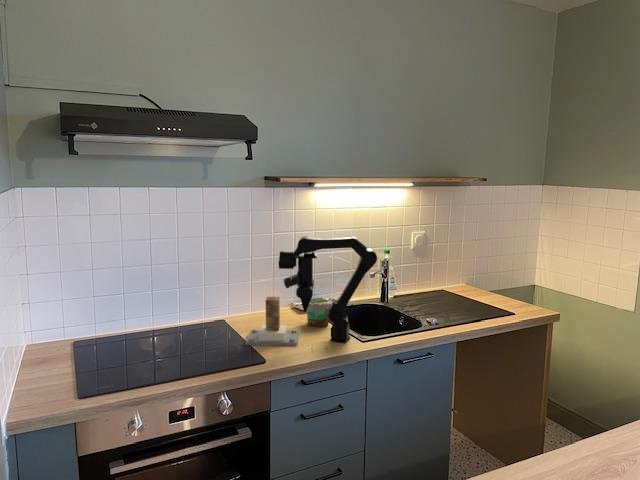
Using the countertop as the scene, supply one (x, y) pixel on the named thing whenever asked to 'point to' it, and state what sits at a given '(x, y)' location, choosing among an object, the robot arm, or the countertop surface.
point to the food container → (317, 314)
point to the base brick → (273, 336)
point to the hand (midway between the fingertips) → (305, 307)
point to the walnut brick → (272, 313)
